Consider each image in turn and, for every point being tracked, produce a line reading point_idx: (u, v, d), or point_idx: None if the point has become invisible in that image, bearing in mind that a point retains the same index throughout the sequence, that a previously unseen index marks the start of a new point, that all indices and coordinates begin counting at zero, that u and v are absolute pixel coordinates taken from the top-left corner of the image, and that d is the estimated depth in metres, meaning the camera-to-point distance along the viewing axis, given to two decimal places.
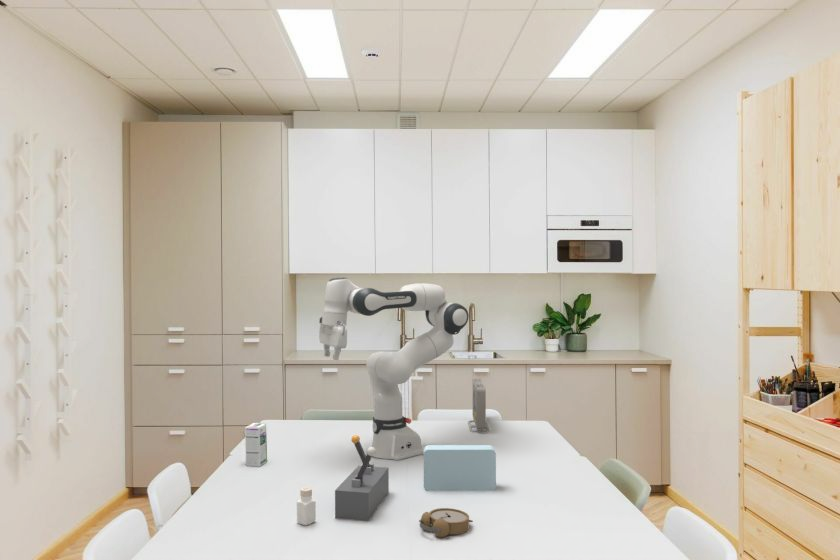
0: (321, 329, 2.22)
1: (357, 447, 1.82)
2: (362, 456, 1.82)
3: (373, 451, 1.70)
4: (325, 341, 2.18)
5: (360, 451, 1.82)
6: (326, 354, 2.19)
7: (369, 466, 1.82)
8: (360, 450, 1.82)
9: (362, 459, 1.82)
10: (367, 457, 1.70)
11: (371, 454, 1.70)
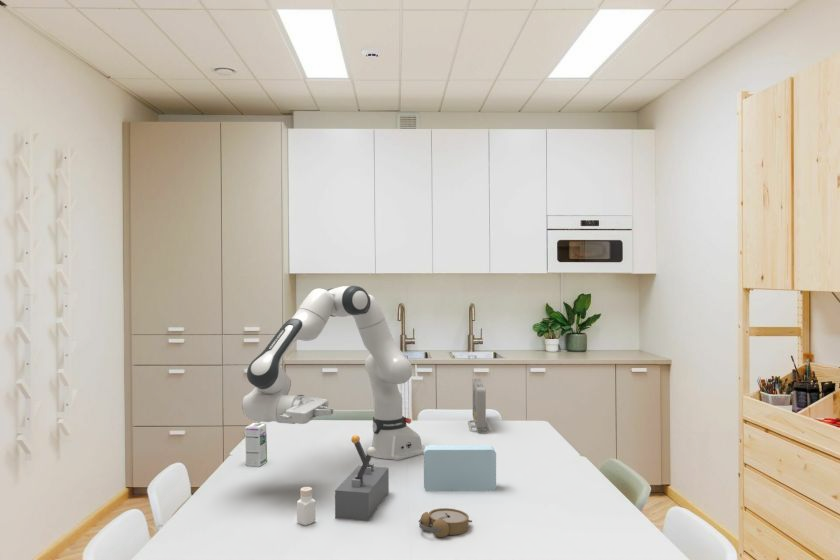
0: None
1: (357, 447, 1.82)
2: (362, 456, 1.82)
3: (373, 451, 1.70)
4: None
5: (360, 451, 1.82)
6: None
7: (369, 466, 1.82)
8: (360, 450, 1.82)
9: (362, 459, 1.82)
10: (367, 457, 1.70)
11: (371, 454, 1.70)
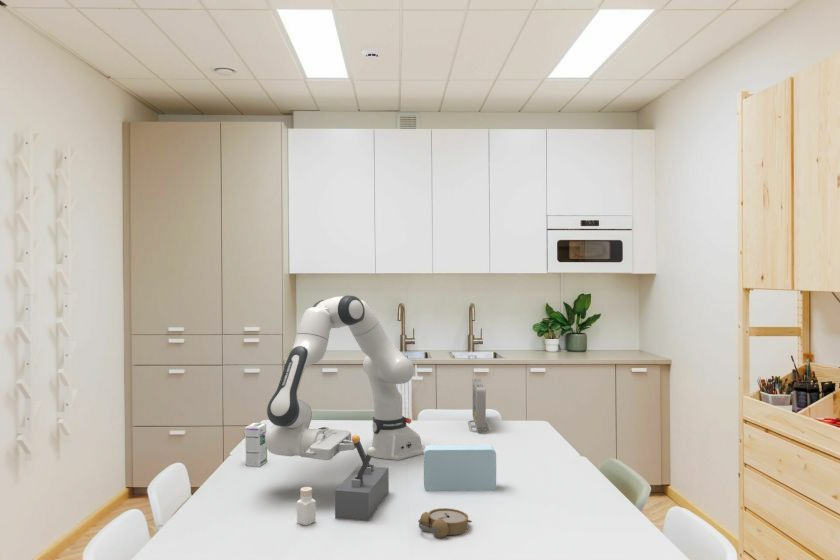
0: None
1: (357, 447, 1.82)
2: (362, 456, 1.82)
3: (373, 451, 1.70)
4: None
5: (360, 451, 1.82)
6: None
7: (369, 466, 1.82)
8: (360, 450, 1.82)
9: (362, 459, 1.82)
10: (367, 457, 1.70)
11: (371, 454, 1.70)
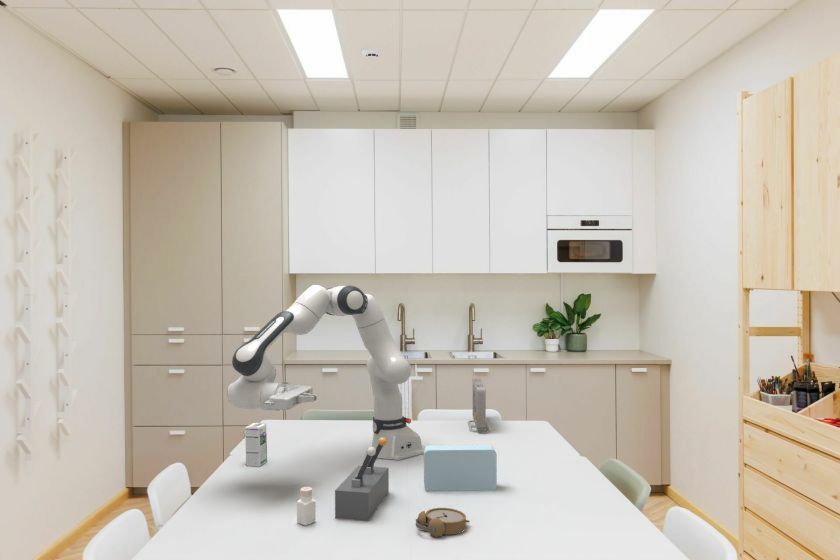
0: None
1: (378, 448, 1.81)
2: (374, 457, 1.81)
3: (373, 451, 1.70)
4: None
5: (377, 453, 1.81)
6: None
7: None
8: (377, 452, 1.81)
9: (372, 459, 1.81)
10: (367, 457, 1.70)
11: (371, 454, 1.70)
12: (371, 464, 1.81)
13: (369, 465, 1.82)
